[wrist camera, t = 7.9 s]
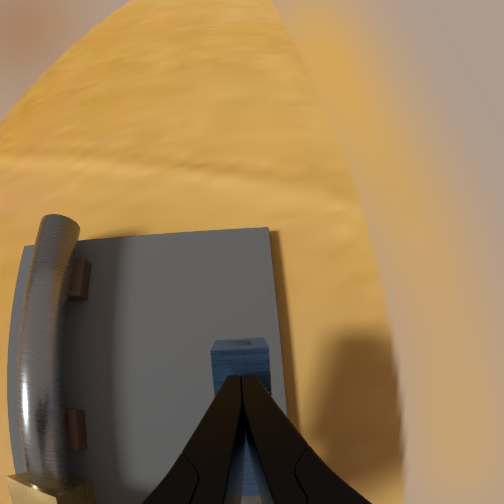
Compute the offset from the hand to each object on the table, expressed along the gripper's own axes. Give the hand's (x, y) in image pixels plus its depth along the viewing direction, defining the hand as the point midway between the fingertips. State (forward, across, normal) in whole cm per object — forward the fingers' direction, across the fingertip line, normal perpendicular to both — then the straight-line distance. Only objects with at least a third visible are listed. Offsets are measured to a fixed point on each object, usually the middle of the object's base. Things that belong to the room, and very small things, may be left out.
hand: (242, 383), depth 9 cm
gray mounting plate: (+2, +7, +8) cm, 11 cm away
